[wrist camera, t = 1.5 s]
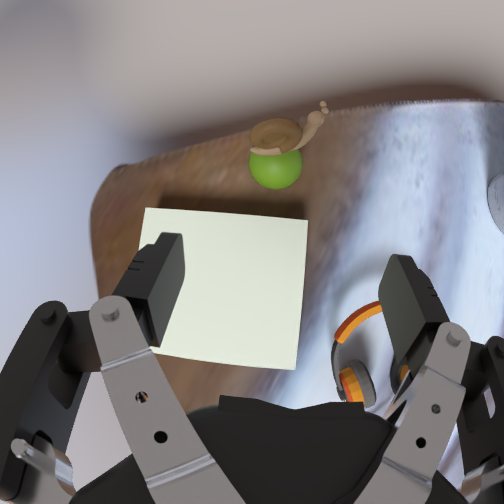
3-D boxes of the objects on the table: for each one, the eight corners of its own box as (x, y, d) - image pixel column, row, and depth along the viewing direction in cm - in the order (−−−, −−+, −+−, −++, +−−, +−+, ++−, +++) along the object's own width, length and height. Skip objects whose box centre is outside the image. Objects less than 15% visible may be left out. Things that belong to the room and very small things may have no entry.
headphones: (307, 484, 24) (306, 319, 23) (301, 456, 30) (296, 304, 28) (440, 448, 24) (468, 292, 23) (422, 427, 30) (440, 284, 28)
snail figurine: (312, 190, 32) (339, 133, 20) (254, 200, 32) (252, 145, 20) (301, 147, 33) (318, 80, 21) (245, 156, 33) (239, 88, 21)
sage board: (303, 228, 31) (307, 220, 28) (291, 363, 29) (294, 369, 26) (155, 215, 32) (145, 207, 29) (140, 344, 30) (128, 347, 27)
